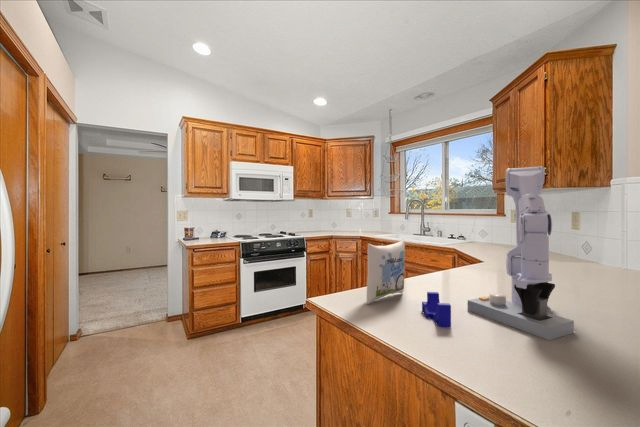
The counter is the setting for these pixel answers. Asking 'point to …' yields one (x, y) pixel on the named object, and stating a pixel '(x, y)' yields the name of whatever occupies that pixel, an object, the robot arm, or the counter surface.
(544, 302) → the plug
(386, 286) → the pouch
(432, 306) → the cable clip
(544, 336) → the power strip
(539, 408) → the counter surface
